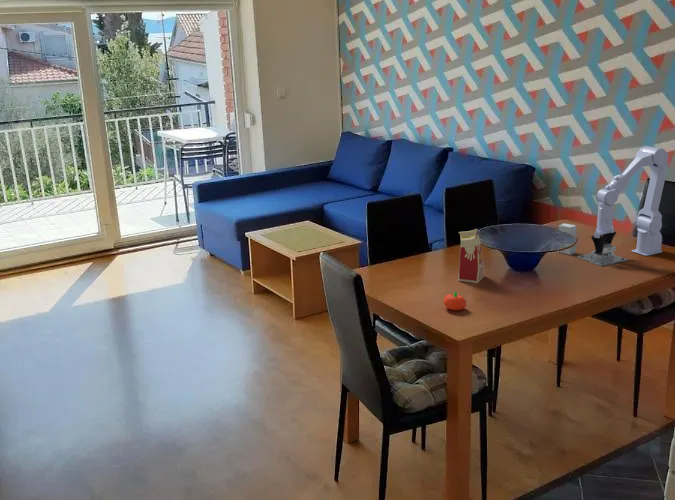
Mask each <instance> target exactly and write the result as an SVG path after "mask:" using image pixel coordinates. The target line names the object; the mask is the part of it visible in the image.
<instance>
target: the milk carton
mask: <svg viewBox="0 0 675 500" xmlns="http://www.w3.org/2000/svg"><path fill="white" fill-rule="evenodd" d="M458 234H459V237H460V247H459V260H458V261H459V262H458V265H459V266H458V274H457V275H458V276H457V278H458V282H467V283H473V284H478V283H480V281H482V279H483V278H484V277H485V262H484V255H483V249H482V248H483V247H482V245H481V244H482V243H481V240H480V235H479V232H478V228H475V229H472V230H468V231H459V232H458Z"/></svg>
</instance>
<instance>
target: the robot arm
mask: <svg viewBox="0 0 675 500" xmlns="http://www.w3.org/2000/svg"><path fill="white" fill-rule="evenodd" d="M635 155H636V156H635V158H634V159H633V160H632V161H631V162H630V164H629V165H628V166H627V167H626V169H625V170H624V171H623V172H622V173H621V174H616V175H615V176H613V179H612V180H611V181H610V182H608V184H607V185H605V187H603V188H601V189H599V191H597V193H596V194H595V200H596V201H597V206H598V209H597V220H596V229H595V232H593V235H591V241H592V242H593V245H594V249H595V250H596V253H599V254H601V253H602V251H603V246H604V243H605V242H607V243H610V245H612V242H613V239H614V238H615V236H616V234H617V232H616V231H615V229H614V228H615V225H613V220H614V219H613V217H614V206H615V204H616V203H617V201H618V199H619V196H620V194H621V192H623V191H624V190H625V189H626V187H628V186H629V183H630V182H629V180H630V179H632V177H633V176H635V175H636V174H637V173H638V172H639V171H641V169H642V168H643V167H649V168H650V169H651V174H650V177H649V178H650V179H649V181H648V182H649V183H648V187H647V190H646V191H647V192H646V195H645V196H646V197H645V201H644V205H643V208H641V209H640V210H638V212H637V215H636V217H635V219H634V226H635V228H636V231H637V238H636V240H637V241H636V247H635V249H631V252H633V253H636V254H640V255H642V256H646V257H647V256H652V255H657V254H661V253H663V250H662V243H663V236H662V233H661V229H662V227H663V223H662V219H663V215H662V213H661V212H660V211H659V208H660V203H661V199H662V196H663V195H662V193H663V189H664V185H665V181H666V177H667V172H668V159H669V153H668V152H667V151H666V149H664V148H659V147H653V146H649V145H644V146H641V147H640V149H639V150H638V151H637V152H636V154H635Z"/></svg>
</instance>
